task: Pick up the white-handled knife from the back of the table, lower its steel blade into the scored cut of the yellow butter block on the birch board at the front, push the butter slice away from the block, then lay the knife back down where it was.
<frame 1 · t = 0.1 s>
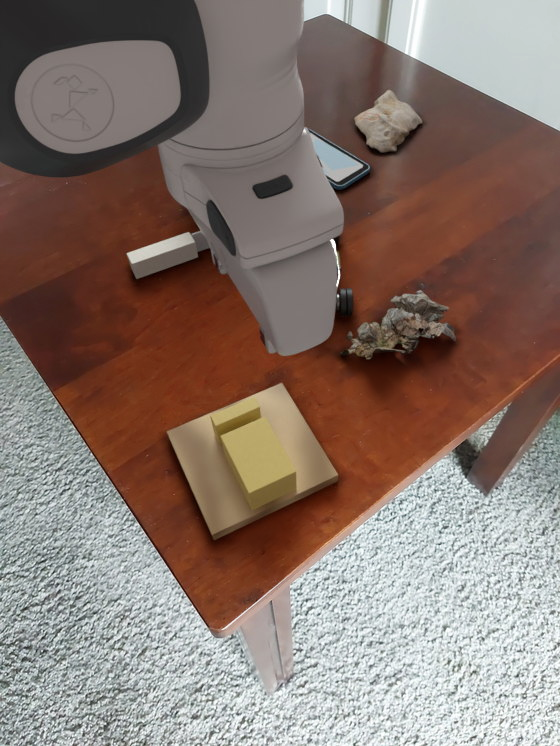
hand: (249, 303, 48), 22 cm above the table, tool pointing down, fingers open, 8 cm apart
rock: (395, 335, 73), on the table
smartphone: (321, 161, 94), on the table
butter: (259, 471, 61), point 1 cm above the table, touching butter board
toy car: (313, 282, 79), on the table
perfume bottle: (217, 196, 90), on the table
butter slice: (238, 430, 64), point 1 cm above the table, touching butter board
butter board: (250, 459, 64), on the table
stone: (386, 128, 99), on the table
knife: (164, 262, 82), on the table
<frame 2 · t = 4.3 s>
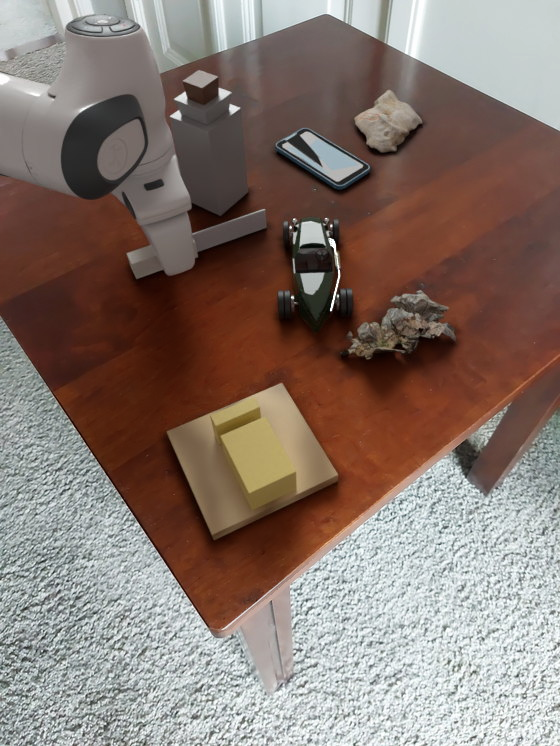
hand: (162, 254, 81), 2 cm above the table, tool pointing down, fingers closed on knife, 2 cm apart
knife: (164, 262, 82), on the table, touching gripper
everything else where it was.
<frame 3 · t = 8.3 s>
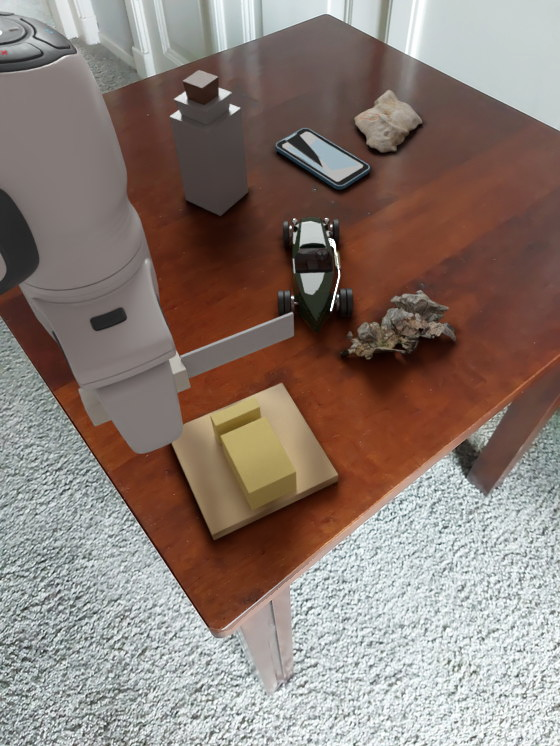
hand: (134, 387, 52), 14 cm above the table, tool pointing down, fingers closed on knife, 2 cm apart
knife: (139, 397, 53), point 13 cm above the table, touching gripper
everything else where it was.
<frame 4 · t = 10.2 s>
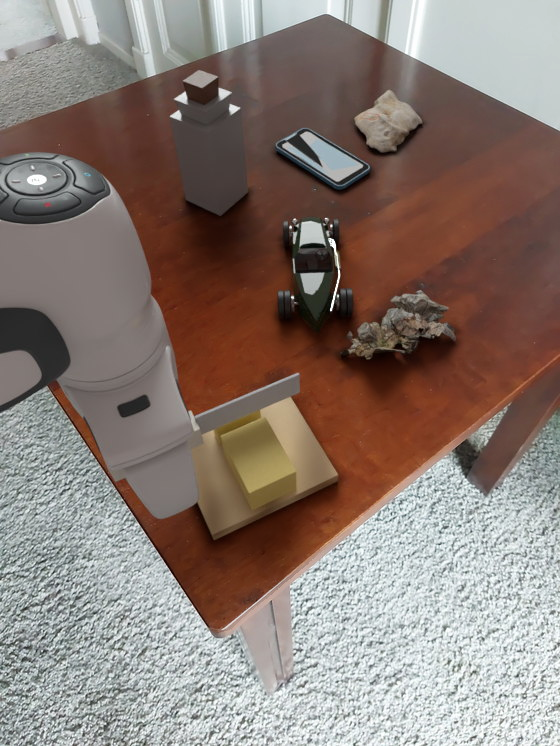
hand: (152, 445, 56), 8 cm above the table, tool pointing down, fingers closed on knife, 2 cm apart
knife: (156, 452, 57), point 6 cm above the table, touching gripper
everything else where it was.
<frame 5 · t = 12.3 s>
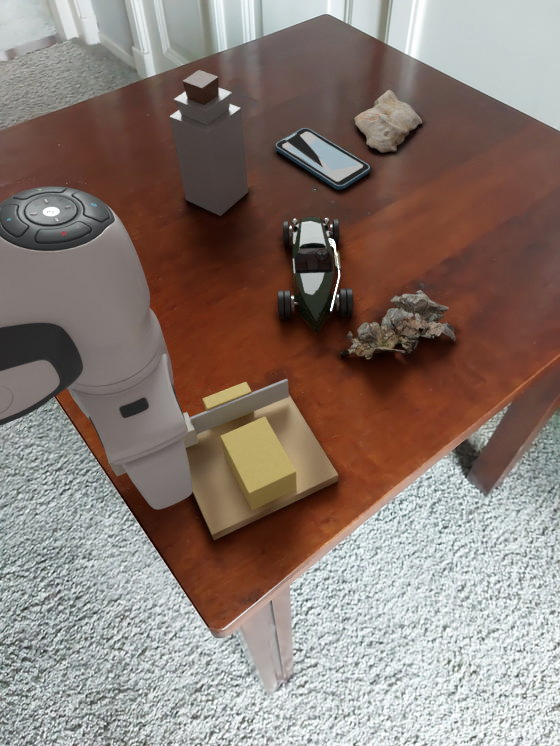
hand: (150, 443, 61), 4 cm above the table, tool pointing down, fingers closed on knife, 2 cm apart
butter slice: (230, 415, 65), point 1 cm above the table, touching butter board, knife
knife: (155, 450, 62), point 2 cm above the table, touching butter slice, gripper
everything else where it was.
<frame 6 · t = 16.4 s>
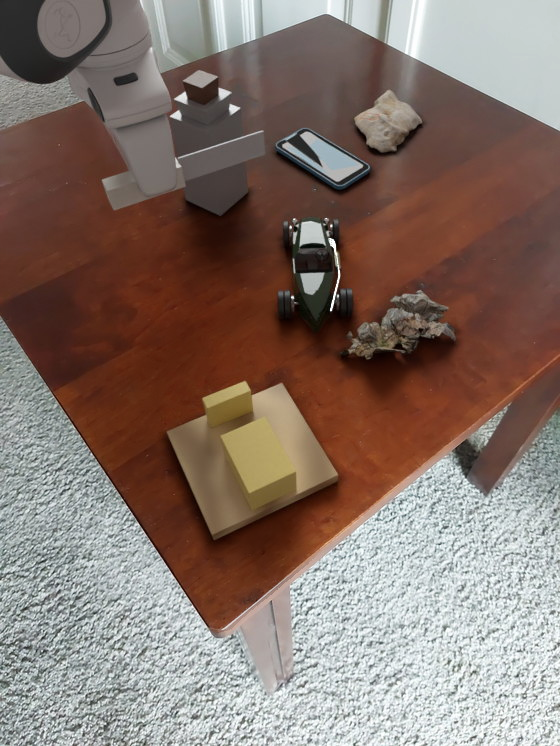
hand: (142, 182, 69), 14 cm above the table, tool pointing down, fingers closed on knife, 2 cm apart
butter slice: (230, 414, 65), point 1 cm above the table, touching butter board
knife: (147, 193, 71), point 13 cm above the table, touching gripper
everything else where it was.
when the fingers open (1 cm above the table, at t = 19.4 s): knife stays where it is, on the table.
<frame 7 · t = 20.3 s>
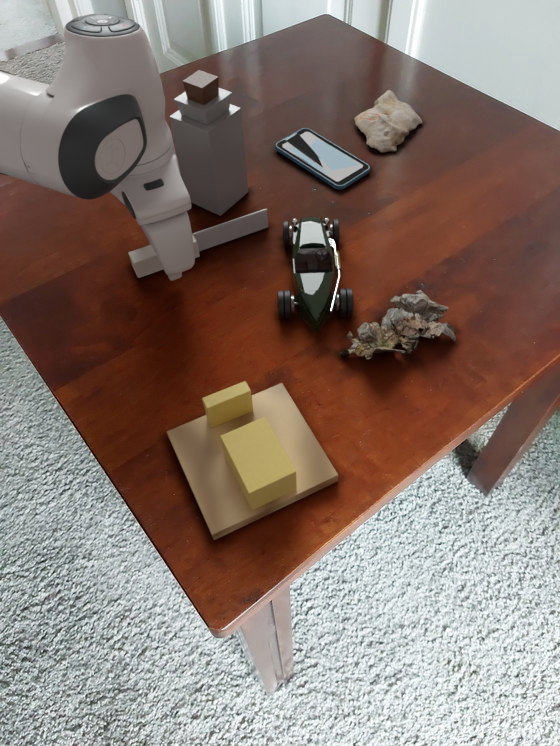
hand: (162, 254, 81), 2 cm above the table, tool pointing down, fingers open, 8 cm apart
knife: (166, 262, 82), on the table
everything else where it was.
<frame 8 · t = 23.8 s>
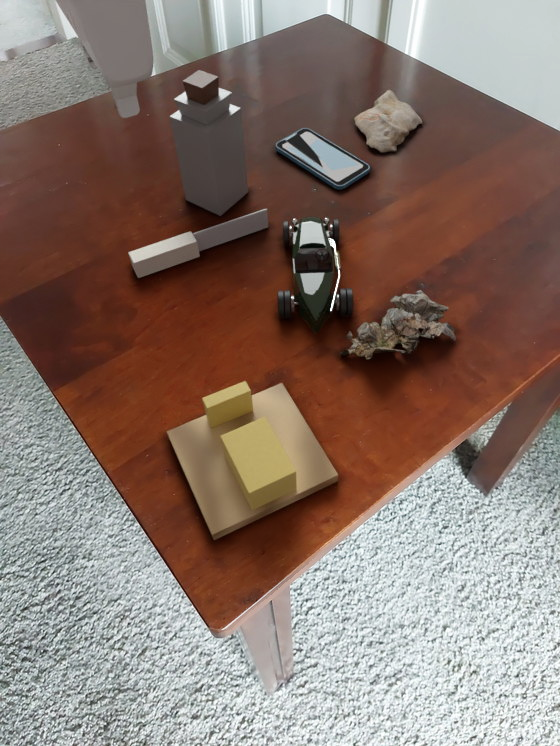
hand: (112, 87, 54), 29 cm above the table, tool pointing down, fingers open, 8 cm apart
nothing on the table moved.
at the end: butter slice moved 2.3 cm from its start; butter moved 0.0 cm from its start; knife on the table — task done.
